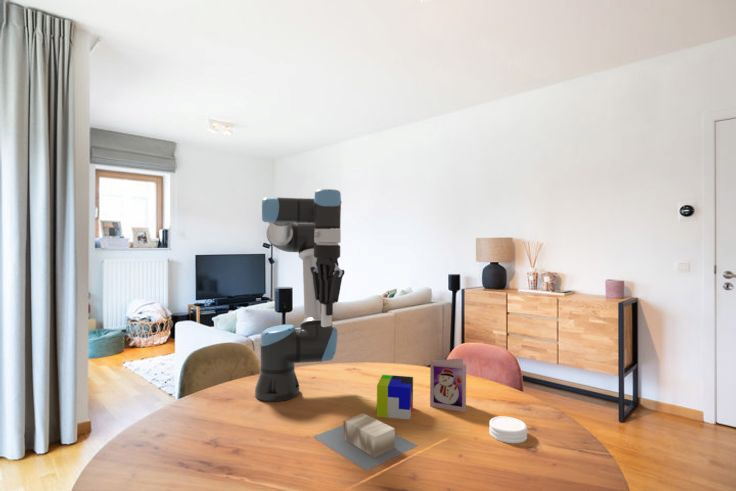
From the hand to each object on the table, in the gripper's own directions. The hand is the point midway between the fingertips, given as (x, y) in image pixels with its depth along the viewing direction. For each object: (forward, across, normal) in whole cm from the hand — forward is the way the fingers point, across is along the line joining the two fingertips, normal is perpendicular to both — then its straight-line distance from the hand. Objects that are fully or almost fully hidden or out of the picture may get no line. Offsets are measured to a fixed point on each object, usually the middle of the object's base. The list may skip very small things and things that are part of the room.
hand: (326, 325), depth 118 cm
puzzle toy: (+30, +8, +22) cm, 37 cm away
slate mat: (+29, +15, +1) cm, 33 cm away
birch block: (+26, +11, +1) cm, 28 cm away
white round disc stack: (+29, +39, +33) cm, 59 cm away
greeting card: (+30, +16, +38) cm, 51 cm away
